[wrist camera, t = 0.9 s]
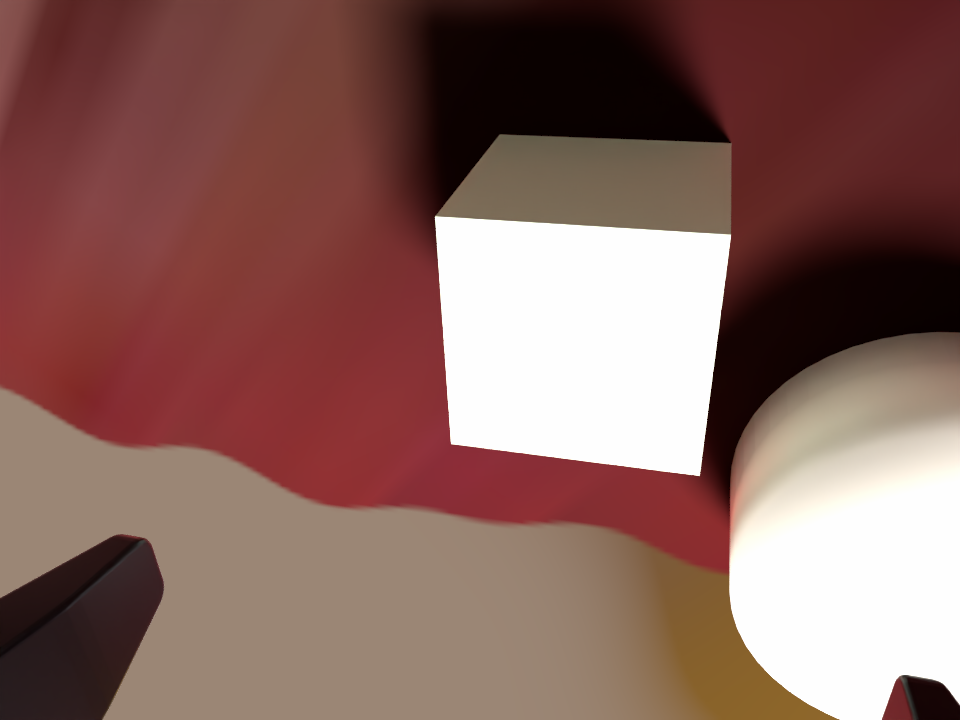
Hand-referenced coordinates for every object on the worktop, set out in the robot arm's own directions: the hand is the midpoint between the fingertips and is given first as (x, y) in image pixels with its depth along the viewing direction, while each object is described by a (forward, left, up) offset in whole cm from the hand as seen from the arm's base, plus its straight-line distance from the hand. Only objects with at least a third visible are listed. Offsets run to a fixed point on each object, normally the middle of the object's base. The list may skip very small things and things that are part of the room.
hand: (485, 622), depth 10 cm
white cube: (0, 0, -12) cm, 12 cm away
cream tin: (-8, +6, -12) cm, 15 cm away
